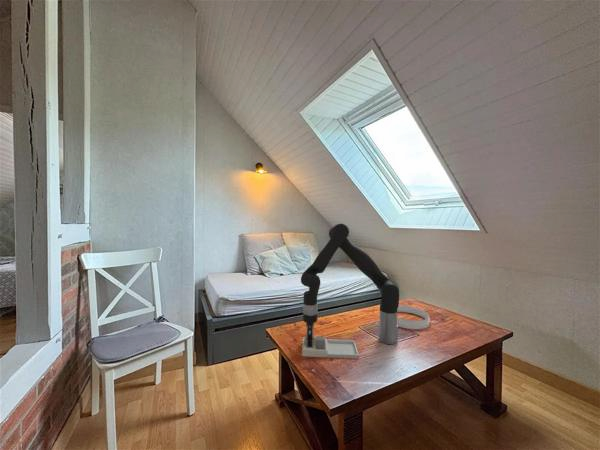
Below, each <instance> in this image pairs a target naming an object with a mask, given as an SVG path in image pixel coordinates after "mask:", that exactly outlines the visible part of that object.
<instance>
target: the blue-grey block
mask: <svg viewBox="0 0 600 450" xmlns="http://www.w3.org/2000/svg"><path fill="white" fill-rule="evenodd" d="M315 337H316V349H318V350H324V339H323V338H324V336H322V335H321V336H318V335H317V336H315Z"/></svg>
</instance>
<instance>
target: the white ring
mask: <svg viewBox="0 0 600 450" xmlns="http://www.w3.org/2000/svg"><path fill="white" fill-rule="evenodd" d="M397 313H410V314H413V315H416V316H419V317H421V318H423V319H422V320H410V319H405V318H401V317H398V316H397V326H398V328H399V327H400V328H403V329H408V330H425V329H427V328H429V327H430V324H431V318H430V316H429V314H428V312H427V311H425V310H423V309H421V308H419V307H415V306H411V305H404V304H399V306H398V309H397Z"/></svg>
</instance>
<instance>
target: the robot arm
mask: <svg viewBox="0 0 600 450" xmlns="http://www.w3.org/2000/svg"><path fill="white" fill-rule="evenodd" d="M349 234H350V229H349V227H348V225H347V224H345V223H338V224H336V225H334V226H333V227H331V228H330V229H329V231H328V237H329V241H328V242H327V243H326V244H325V246H324V247H323V248H322V249H321V250H320V252H319V253H318V255H317V256H316V258H315V259H314V261H313V263H312V264H311V265H309V267H308V268H307V269H305V270H304V272H302V274H301V277H300V283H301V284H302V286H304V287H307V288H308V290H306V291H304V293H303V297H302V298H303V300H302V301H303V303H302V304H303V305H302V321H303V322H304V323H305V324H306V326H305V329H306V333H307V340H308V347H312V340H313V338H312V335H313V333H314V329H315V324H316V323H317V322H318V311H319V310H318V309H319V307H318V294H319V292H320V287H321V279H320V278H321V277H320V276H319V275H318V274H322V273H324V272H325V270H326V269H327V267H328V265H329V263H330V261H331V260H332V258H333V257H334V255H335V253H336V252H337V250H338V249H340V250H341V251H342V252H344V254H345V255H346V256H347V258H348V259H350V260H351V262H352V263H353V264H354V266H356V267H357V268H358V270H360V272H362V273H363V274H364V276H366V277H368V278H369V279H370V280H371V281H372V282H373V284H374V285H375V286H376V288H377V290H378V291H379V292H380V294H381V301H380V304H379V322H378V323H379V326H378V340H379V342H380V343H383V344H384V345H395V344H398V339H399V326H397V317H398V312H397V309H398V306H399V305H400V304H399V302H400V301H399V300H400V289H399V288H398V286H397V285H396V284H395V283H394V281H392V280H391V279H390V278H388V277H387V276H386V275H385V274H384V273H383V272H382V271H381V269H380V268H379V266H378V265H377V263H376V262H375V260H373V258H372V257H371V255H369V254H368V253H367V252H366V251H365V250H363V249H362V248H361V247H359V246H357V245H355V244H354V243H353V242H352V241H350V239H349V238H348V237H349Z"/></svg>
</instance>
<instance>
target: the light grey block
mask: <svg viewBox="0 0 600 450" xmlns="http://www.w3.org/2000/svg"><path fill="white" fill-rule="evenodd" d="M305 337H306V348H314V337H315V333H314V332H313V335H312V338H313V340H312V347H308V340H307V332H306V333H305Z"/></svg>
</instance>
